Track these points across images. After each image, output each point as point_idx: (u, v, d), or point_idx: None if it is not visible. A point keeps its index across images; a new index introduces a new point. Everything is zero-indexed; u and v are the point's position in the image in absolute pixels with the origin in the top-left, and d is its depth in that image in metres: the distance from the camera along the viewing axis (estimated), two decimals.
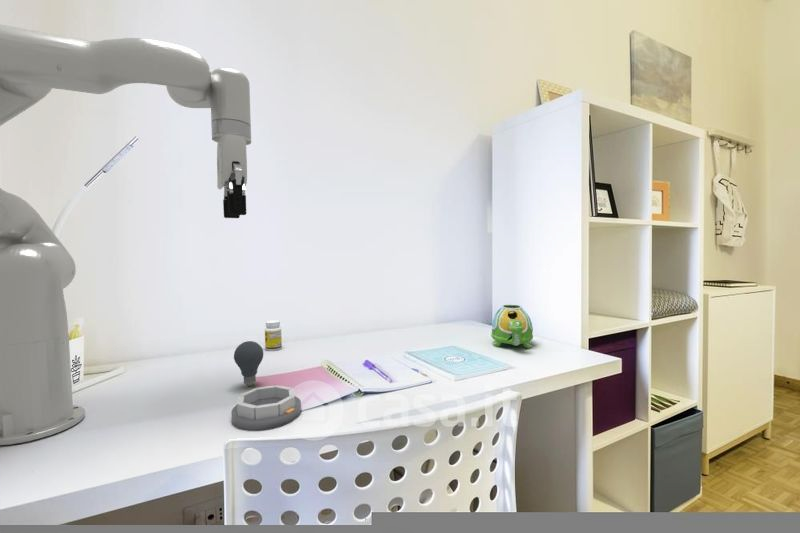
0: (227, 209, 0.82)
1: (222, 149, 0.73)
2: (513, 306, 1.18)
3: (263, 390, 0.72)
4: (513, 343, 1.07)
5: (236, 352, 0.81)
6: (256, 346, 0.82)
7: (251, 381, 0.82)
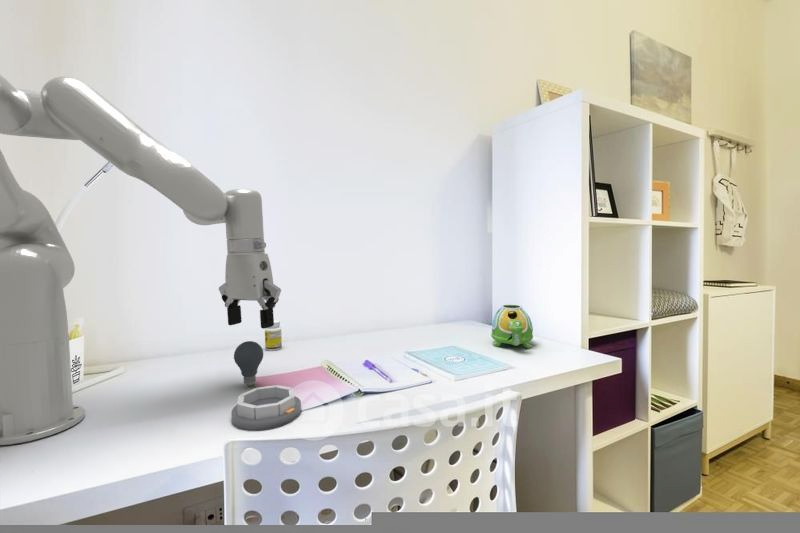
0: None
1: None
2: (513, 306, 1.18)
3: (263, 390, 0.72)
4: (513, 343, 1.07)
5: (236, 352, 0.81)
6: (256, 346, 0.82)
7: (251, 381, 0.82)
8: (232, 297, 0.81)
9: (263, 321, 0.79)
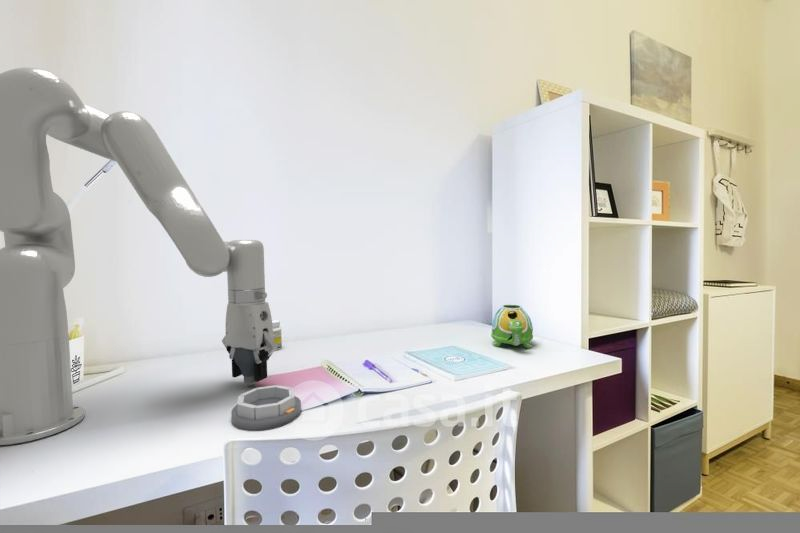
0: None
1: None
2: (513, 306, 1.18)
3: (263, 390, 0.72)
4: (513, 343, 1.07)
5: (236, 352, 0.81)
6: None
7: (251, 381, 0.82)
8: (232, 345, 0.82)
9: (256, 374, 0.80)
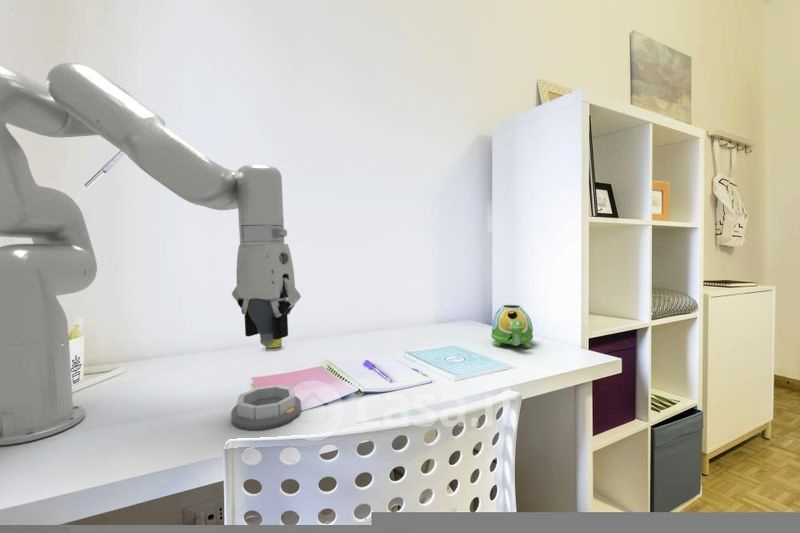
0: None
1: None
2: (513, 306, 1.18)
3: (263, 390, 0.72)
4: (513, 343, 1.07)
5: (251, 304, 0.66)
6: None
7: (269, 340, 0.67)
8: (244, 296, 0.67)
9: (276, 331, 0.65)
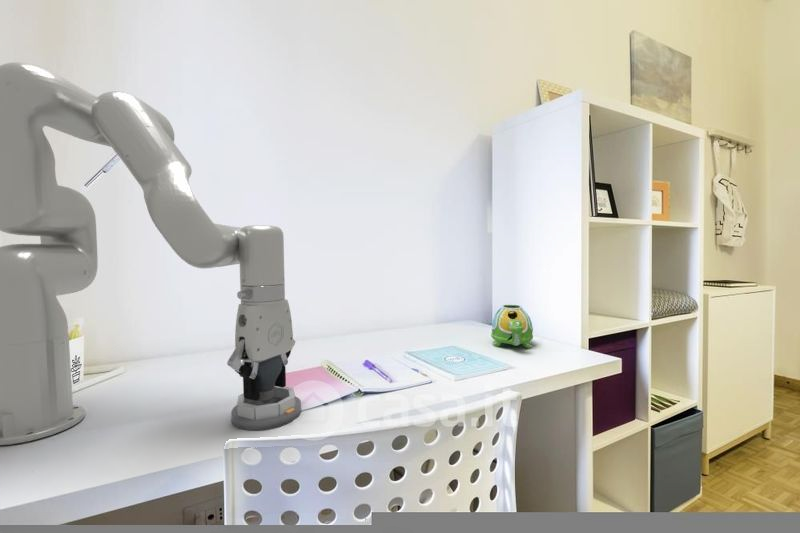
0: None
1: (290, 315, 0.71)
2: (513, 306, 1.18)
3: None
4: (513, 343, 1.07)
5: None
6: None
7: None
8: None
9: None
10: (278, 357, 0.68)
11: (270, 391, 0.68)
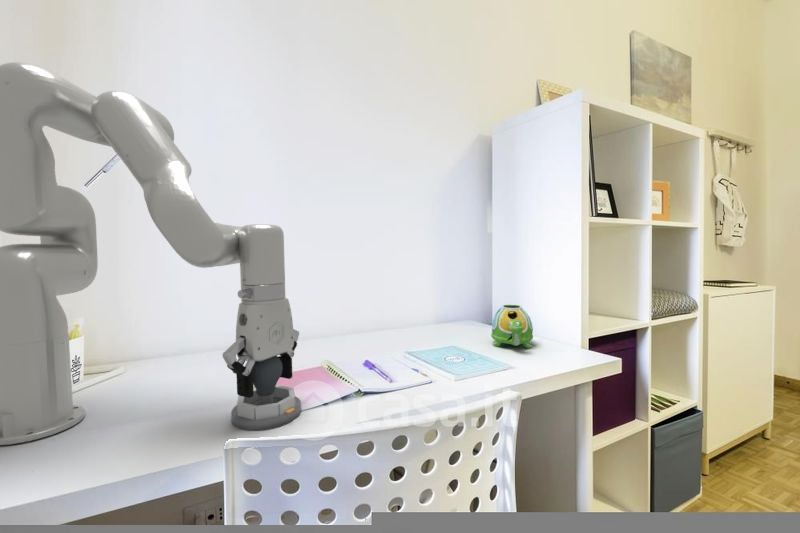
0: None
1: (291, 314, 0.71)
2: (513, 306, 1.18)
3: None
4: (513, 343, 1.07)
5: None
6: (256, 361, 0.66)
7: (259, 401, 0.68)
8: None
9: None
10: (278, 361, 0.68)
11: (270, 395, 0.68)
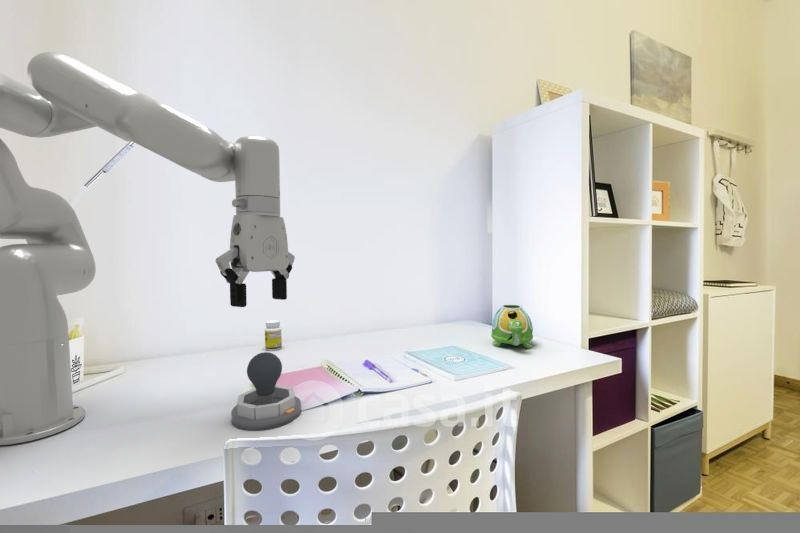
0: None
1: None
2: (513, 306, 1.18)
3: None
4: (513, 343, 1.07)
5: None
6: (256, 361, 0.66)
7: (259, 401, 0.68)
8: None
9: None
10: (277, 361, 0.68)
11: (270, 395, 0.68)
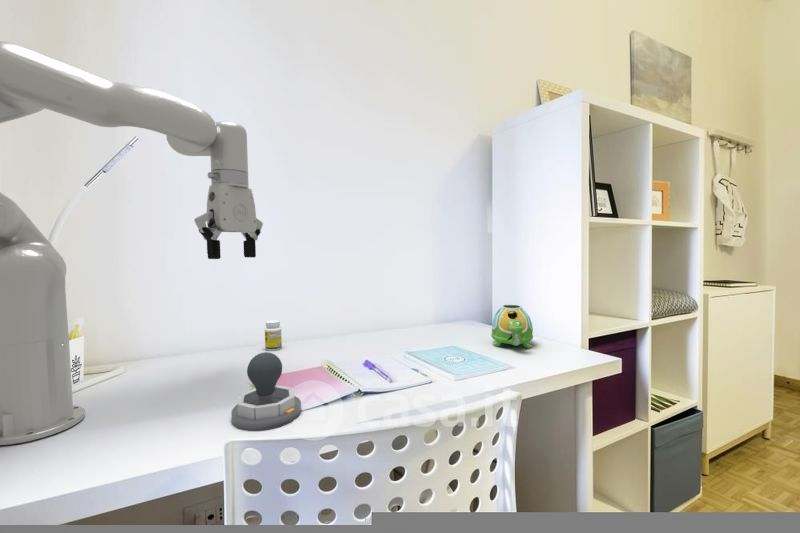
0: None
1: None
2: (513, 306, 1.18)
3: None
4: (513, 343, 1.07)
5: None
6: (256, 361, 0.66)
7: (259, 401, 0.68)
8: None
9: None
10: (278, 361, 0.68)
11: (270, 395, 0.68)
